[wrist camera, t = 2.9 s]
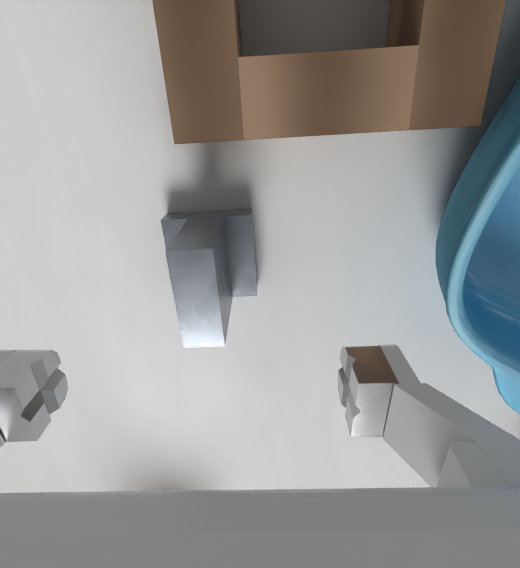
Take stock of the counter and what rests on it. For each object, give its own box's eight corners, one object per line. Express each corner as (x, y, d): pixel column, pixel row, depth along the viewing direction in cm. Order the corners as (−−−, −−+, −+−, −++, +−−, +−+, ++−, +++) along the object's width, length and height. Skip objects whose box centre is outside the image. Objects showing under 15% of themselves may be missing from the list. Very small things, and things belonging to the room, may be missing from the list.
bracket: (252, 208, 20) (248, 246, 15) (257, 284, 23) (255, 344, 17) (167, 213, 20) (130, 253, 15) (180, 288, 23) (152, 349, 17)
